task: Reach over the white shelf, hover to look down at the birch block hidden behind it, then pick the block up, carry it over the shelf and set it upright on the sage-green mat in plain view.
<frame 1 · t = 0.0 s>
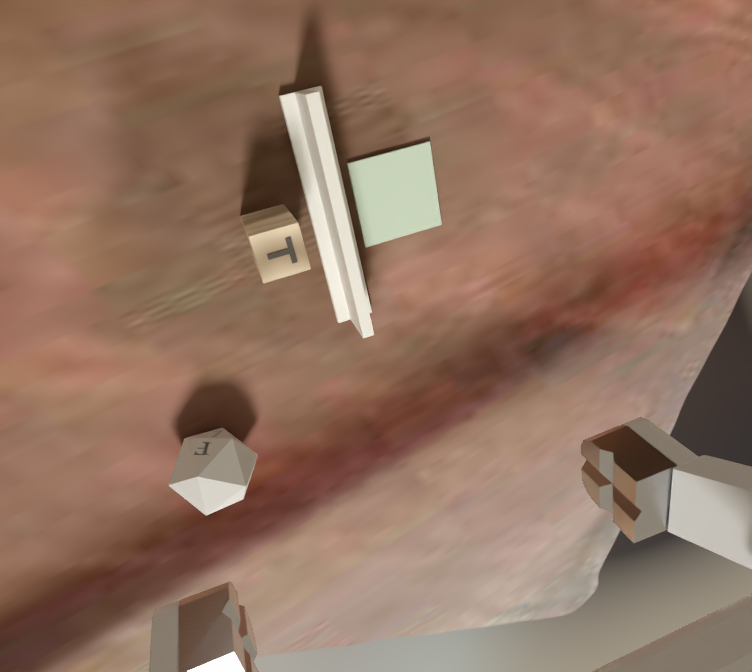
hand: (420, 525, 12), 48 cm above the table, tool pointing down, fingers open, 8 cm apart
die: (212, 447, 65), on the table
white shelf: (329, 214, 58), on the table
sage mat: (395, 194, 59), on the table
birch block: (268, 231, 57), on the table
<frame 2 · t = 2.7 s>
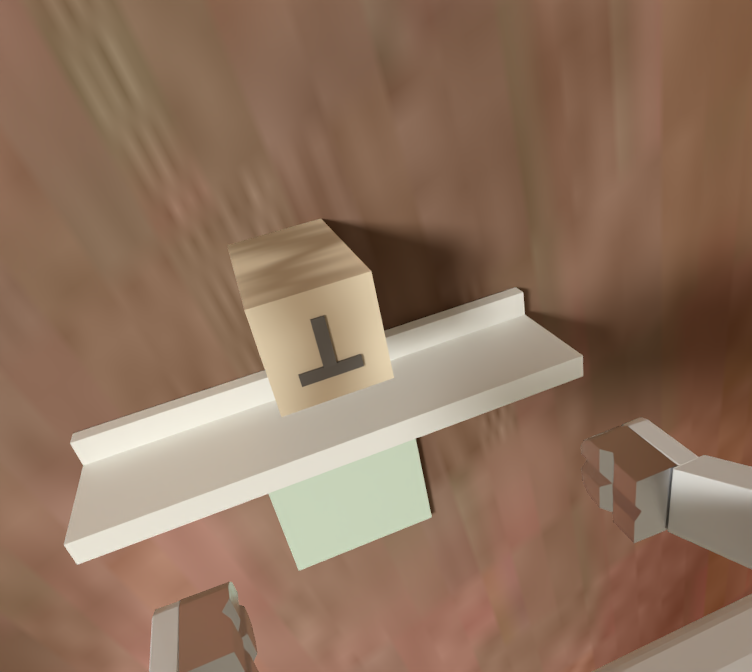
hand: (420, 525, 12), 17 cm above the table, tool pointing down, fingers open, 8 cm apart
white shelf: (320, 386, 30), on the table
sage mat: (350, 487, 33), on the table
birch block: (287, 275, 27), on the table
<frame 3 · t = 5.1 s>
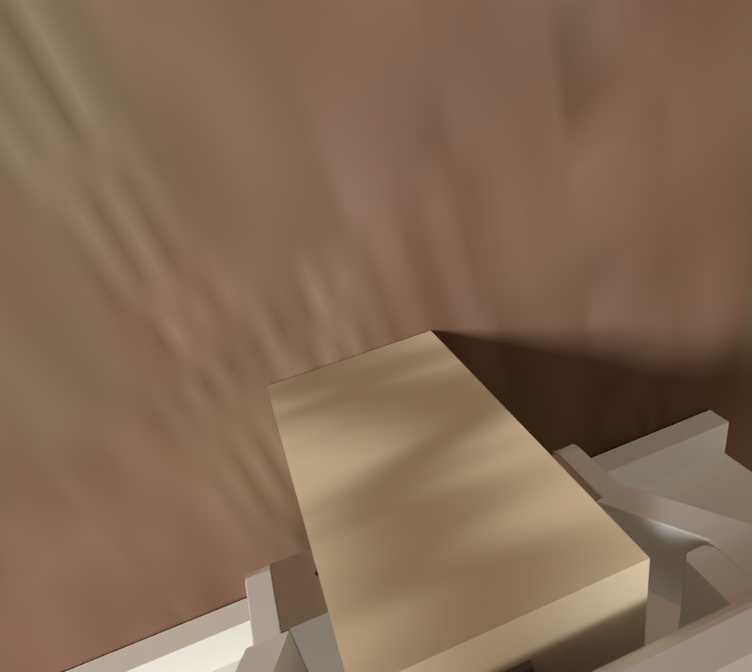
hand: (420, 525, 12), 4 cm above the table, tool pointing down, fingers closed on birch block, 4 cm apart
white shelf: (407, 577, 18), on the table
birch block: (368, 425, 15), on the table, touching gripper
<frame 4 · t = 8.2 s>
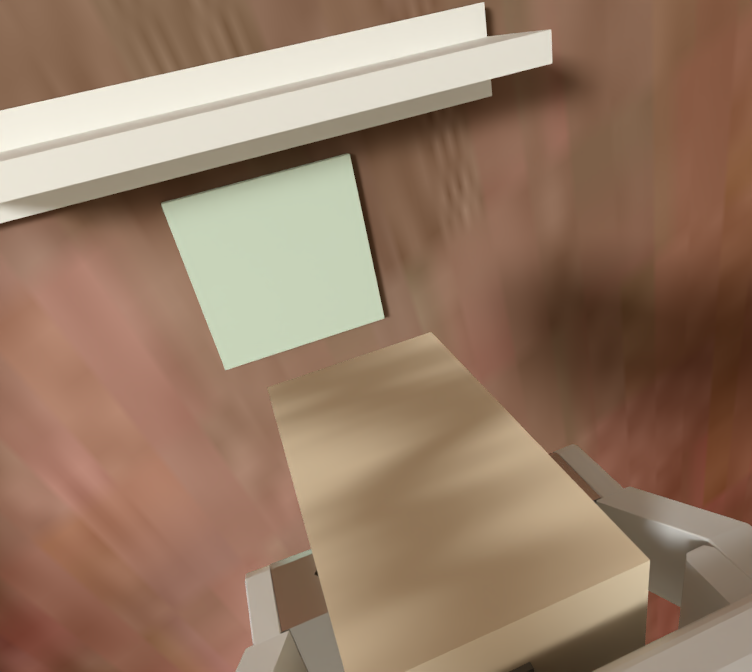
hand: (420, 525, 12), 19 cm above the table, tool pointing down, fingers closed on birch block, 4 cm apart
white shelf: (237, 110, 25), on the table
sage mat: (283, 264, 28), on the table
birch block: (368, 426, 15), point 15 cm above the table, touching gripper
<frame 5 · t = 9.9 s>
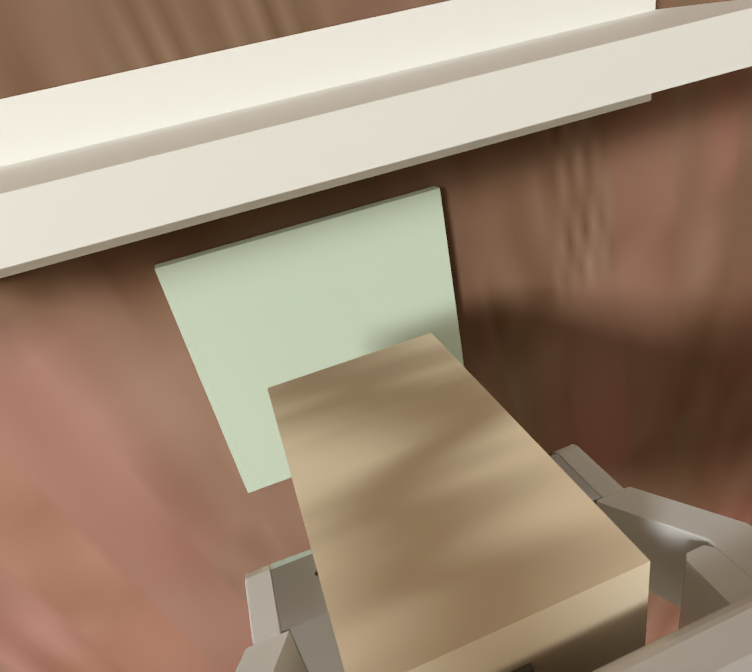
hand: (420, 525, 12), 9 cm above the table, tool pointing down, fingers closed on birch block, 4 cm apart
white shelf: (274, 122, 16), on the table
sage mat: (334, 346, 19), on the table
birch block: (368, 427, 15), point 5 cm above the table, touching gripper
when the fingers open (6 cm above the table, at t = 11.3 s): birch block drops 2 cm, resting on sage mat.
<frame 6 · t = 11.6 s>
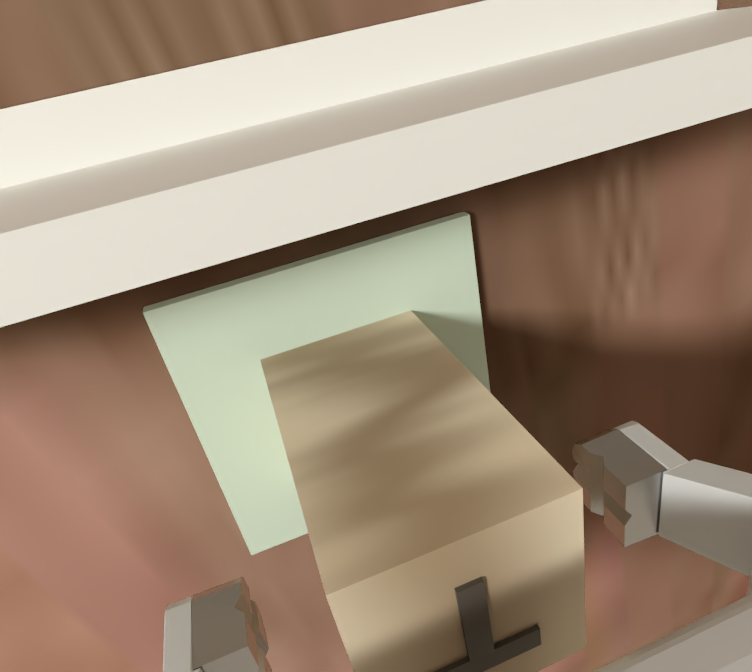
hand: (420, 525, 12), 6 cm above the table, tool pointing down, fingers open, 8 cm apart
white shelf: (281, 142, 14), on the table
sage mat: (348, 391, 17), on the table
birch block: (354, 398, 17), resting on sage mat
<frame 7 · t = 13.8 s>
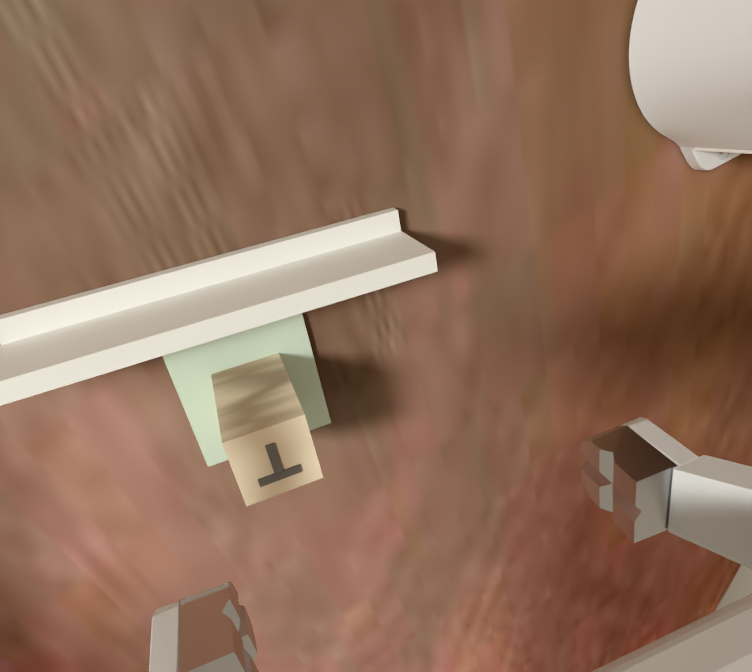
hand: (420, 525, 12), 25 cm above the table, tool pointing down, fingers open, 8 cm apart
white shelf: (218, 288, 34), on the table
sage mat: (252, 389, 38), on the table
birch block: (254, 391, 37), resting on sage mat
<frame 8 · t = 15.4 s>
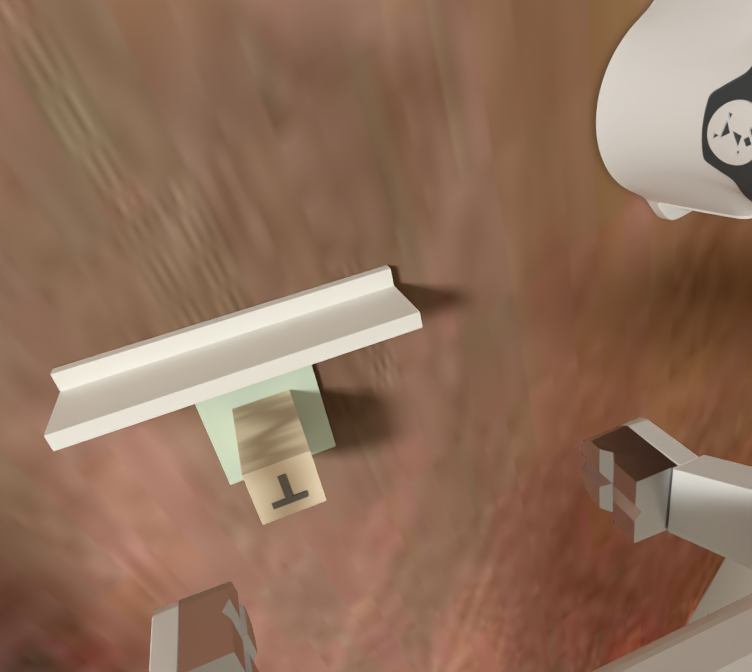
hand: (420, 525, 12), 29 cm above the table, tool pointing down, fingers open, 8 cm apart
white shelf: (237, 338, 40), on the table
sage mat: (267, 419, 44), on the table
birch block: (269, 422, 43), resting on sage mat
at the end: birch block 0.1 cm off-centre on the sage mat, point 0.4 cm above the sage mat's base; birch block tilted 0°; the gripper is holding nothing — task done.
